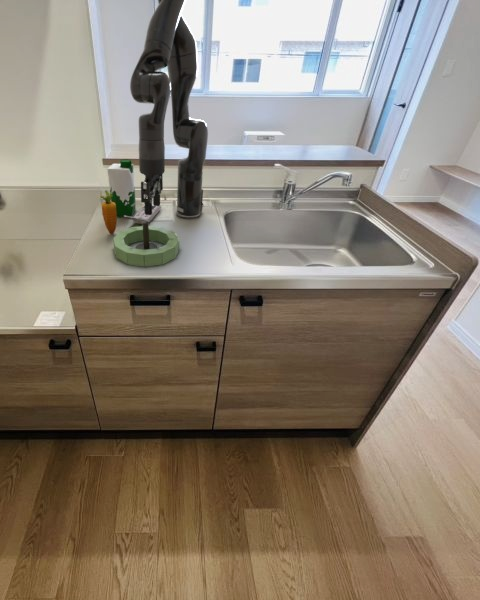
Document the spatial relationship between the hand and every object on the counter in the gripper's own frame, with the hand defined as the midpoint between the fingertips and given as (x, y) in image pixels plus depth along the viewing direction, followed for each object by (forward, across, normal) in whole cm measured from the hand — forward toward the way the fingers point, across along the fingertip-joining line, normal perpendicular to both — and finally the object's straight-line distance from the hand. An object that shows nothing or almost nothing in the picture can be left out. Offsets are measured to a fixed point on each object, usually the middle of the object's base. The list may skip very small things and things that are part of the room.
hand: (152, 209), depth 101 cm
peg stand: (+10, -8, 0) cm, 13 cm away
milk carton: (+10, +18, +18) cm, 28 cm away
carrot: (+11, -1, +15) cm, 18 cm away
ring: (+10, -8, 0) cm, 13 cm away
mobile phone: (+10, +15, +8) cm, 20 cm away
